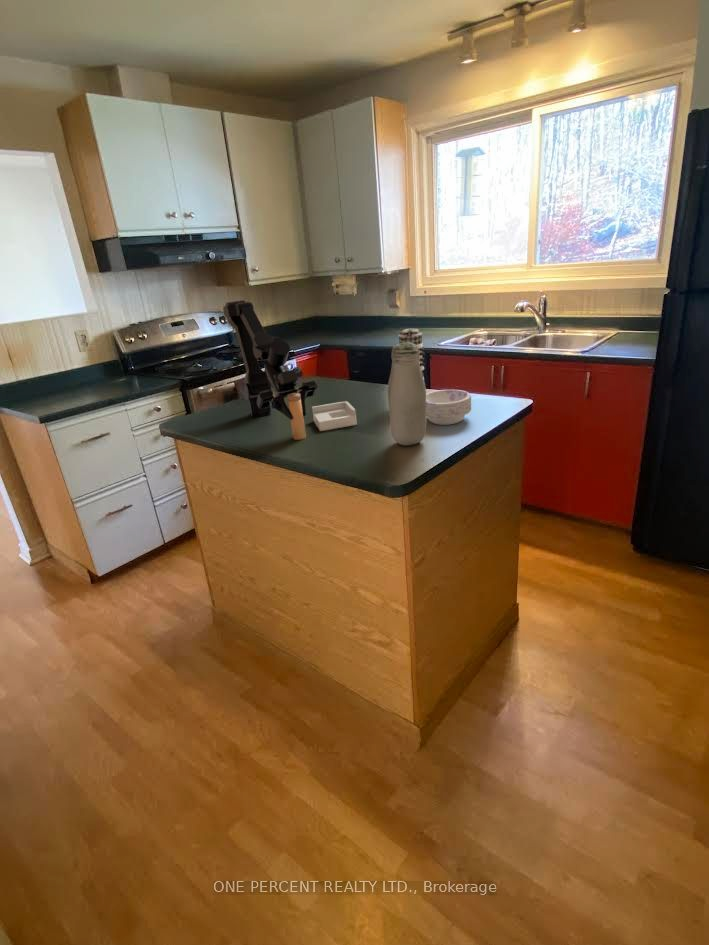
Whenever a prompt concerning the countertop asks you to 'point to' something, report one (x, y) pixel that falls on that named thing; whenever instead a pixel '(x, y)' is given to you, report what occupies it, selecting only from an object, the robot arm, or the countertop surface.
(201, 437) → the countertop surface
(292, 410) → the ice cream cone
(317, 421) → the housing
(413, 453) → the countertop surface
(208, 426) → the countertop surface
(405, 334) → the decorative candle
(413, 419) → the light grey bottle
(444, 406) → the paper bowls
